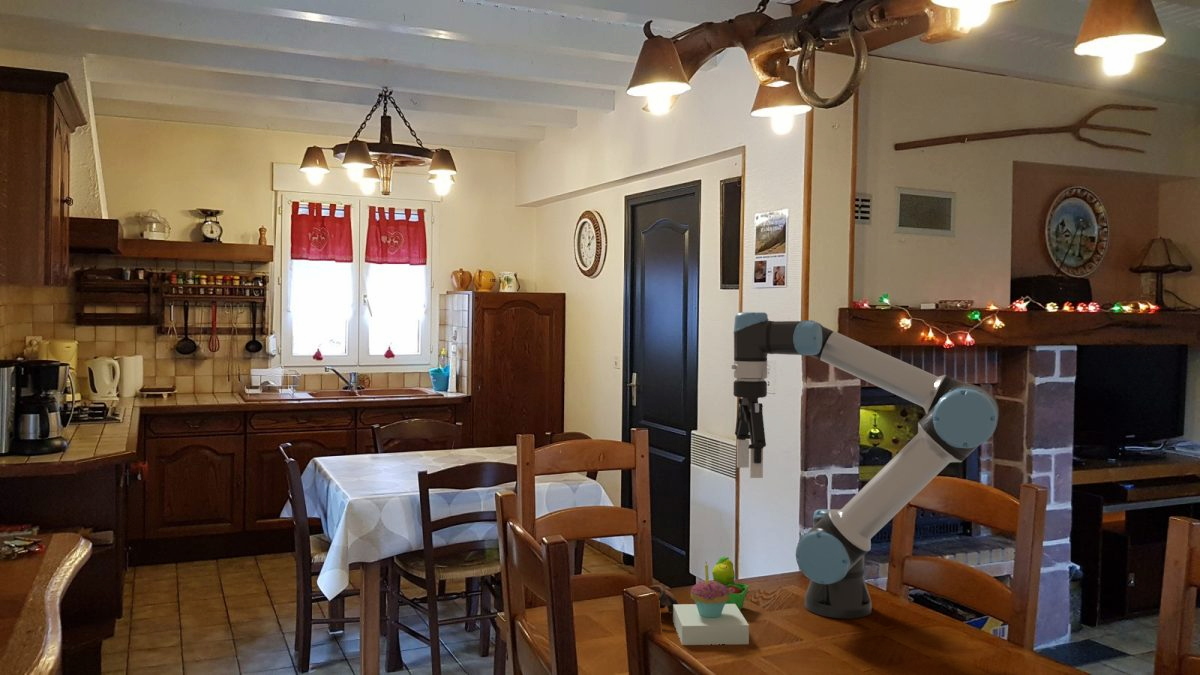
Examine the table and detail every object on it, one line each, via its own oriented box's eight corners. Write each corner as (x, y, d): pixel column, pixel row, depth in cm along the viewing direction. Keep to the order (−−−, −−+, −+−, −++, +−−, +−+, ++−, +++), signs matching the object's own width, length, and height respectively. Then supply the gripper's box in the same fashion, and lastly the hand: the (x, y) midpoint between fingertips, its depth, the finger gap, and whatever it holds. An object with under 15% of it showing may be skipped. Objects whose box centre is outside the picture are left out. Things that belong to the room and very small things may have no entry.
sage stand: (735, 621, 203) (735, 603, 203) (748, 644, 189) (748, 625, 189) (672, 622, 202) (673, 604, 202) (682, 645, 188) (682, 626, 188)
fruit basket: (693, 609, 211) (693, 561, 211) (703, 599, 219) (704, 552, 219) (741, 616, 207) (741, 567, 207) (750, 605, 215) (750, 557, 215)
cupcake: (719, 623, 190) (719, 566, 190) (682, 616, 195) (683, 560, 194) (735, 612, 197) (736, 557, 197) (700, 605, 202) (701, 551, 202)
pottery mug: (685, 626, 201) (669, 597, 199) (647, 643, 203) (630, 614, 201) (681, 596, 213) (666, 568, 211) (645, 612, 214) (630, 584, 212)
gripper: (723, 375, 219) (722, 463, 220) (746, 383, 194) (745, 482, 195) (753, 375, 220) (753, 463, 220) (780, 383, 195) (779, 482, 195)
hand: (749, 472), depth 208 cm, fingers open, 13 cm apart
